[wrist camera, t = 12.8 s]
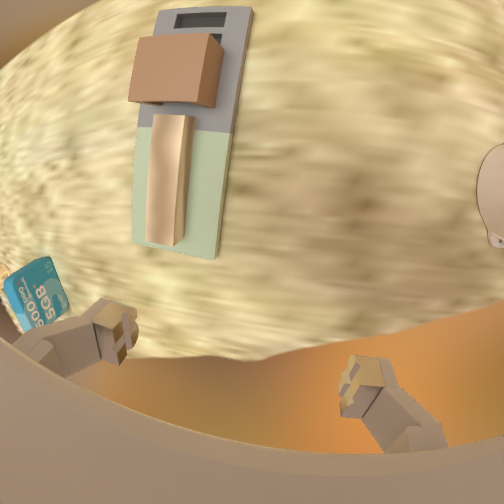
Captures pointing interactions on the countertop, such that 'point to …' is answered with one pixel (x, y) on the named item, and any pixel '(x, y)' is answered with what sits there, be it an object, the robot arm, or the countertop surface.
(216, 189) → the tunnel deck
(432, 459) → the robot arm
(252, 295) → the countertop surface
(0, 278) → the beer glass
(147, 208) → the birch bar
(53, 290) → the data package
